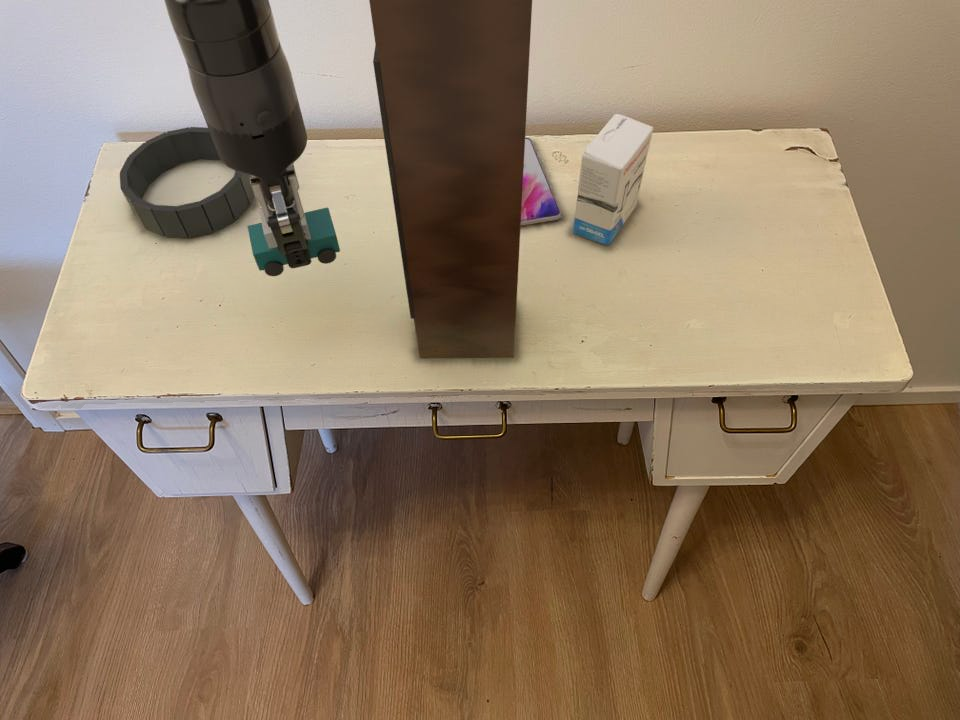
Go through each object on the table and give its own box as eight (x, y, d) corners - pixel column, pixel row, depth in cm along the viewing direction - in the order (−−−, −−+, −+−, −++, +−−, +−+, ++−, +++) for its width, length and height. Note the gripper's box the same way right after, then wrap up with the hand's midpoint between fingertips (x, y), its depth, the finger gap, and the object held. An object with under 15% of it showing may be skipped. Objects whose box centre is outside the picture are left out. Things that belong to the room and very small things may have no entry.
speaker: (416, 359, 77) (361, -14, 44) (419, 305, 81) (371, -73, 48) (513, 358, 77) (533, -15, 44) (512, 305, 81) (528, -75, 48)
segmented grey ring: (138, 250, 86) (122, 223, 82) (132, 169, 94) (117, 141, 90) (263, 221, 88) (253, 194, 85) (246, 145, 96) (237, 117, 92)
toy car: (262, 279, 71) (247, 243, 67) (255, 245, 73) (240, 207, 69) (342, 260, 72) (333, 222, 68) (333, 227, 75) (323, 188, 70)
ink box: (607, 248, 85) (622, 170, 76) (570, 232, 87) (580, 154, 77) (638, 204, 89) (656, 125, 80) (602, 189, 91) (615, 110, 81)
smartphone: (530, 135, 95) (563, 215, 87) (530, 141, 96) (562, 220, 88) (476, 143, 94) (504, 224, 86) (476, 148, 95) (504, 229, 87)
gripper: (192, 58, 61) (248, 208, 75) (211, 167, 53) (269, 310, 68) (281, 41, 62) (320, 191, 77) (311, 146, 55) (348, 291, 69)
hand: (296, 247), depth 72 cm, fingers closed on toy car, 4 cm apart
